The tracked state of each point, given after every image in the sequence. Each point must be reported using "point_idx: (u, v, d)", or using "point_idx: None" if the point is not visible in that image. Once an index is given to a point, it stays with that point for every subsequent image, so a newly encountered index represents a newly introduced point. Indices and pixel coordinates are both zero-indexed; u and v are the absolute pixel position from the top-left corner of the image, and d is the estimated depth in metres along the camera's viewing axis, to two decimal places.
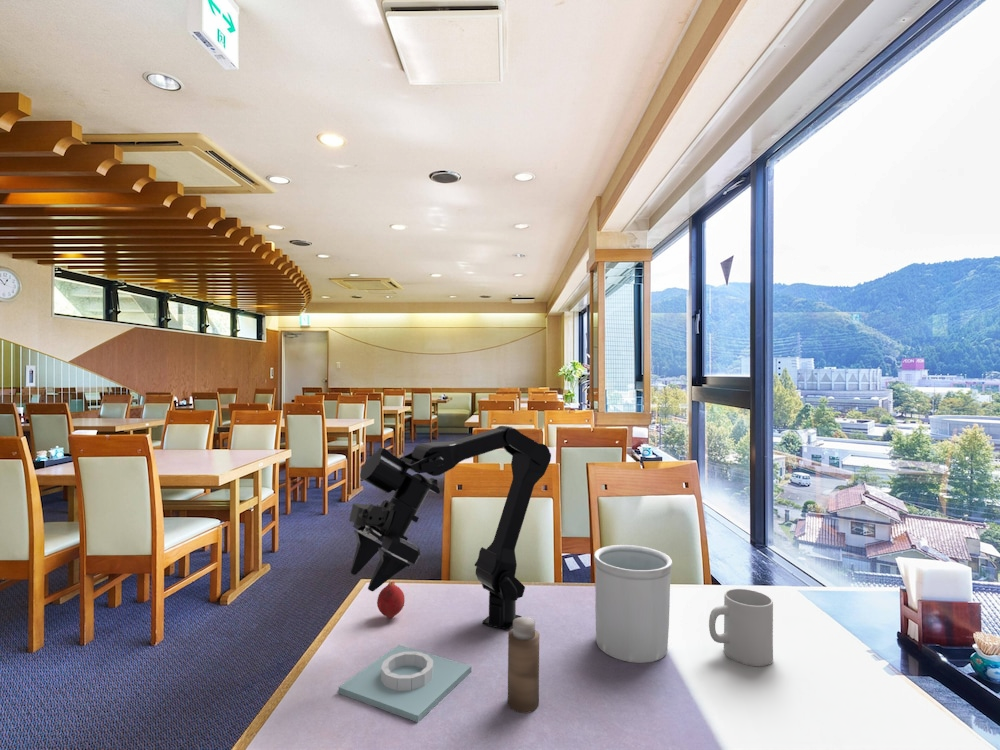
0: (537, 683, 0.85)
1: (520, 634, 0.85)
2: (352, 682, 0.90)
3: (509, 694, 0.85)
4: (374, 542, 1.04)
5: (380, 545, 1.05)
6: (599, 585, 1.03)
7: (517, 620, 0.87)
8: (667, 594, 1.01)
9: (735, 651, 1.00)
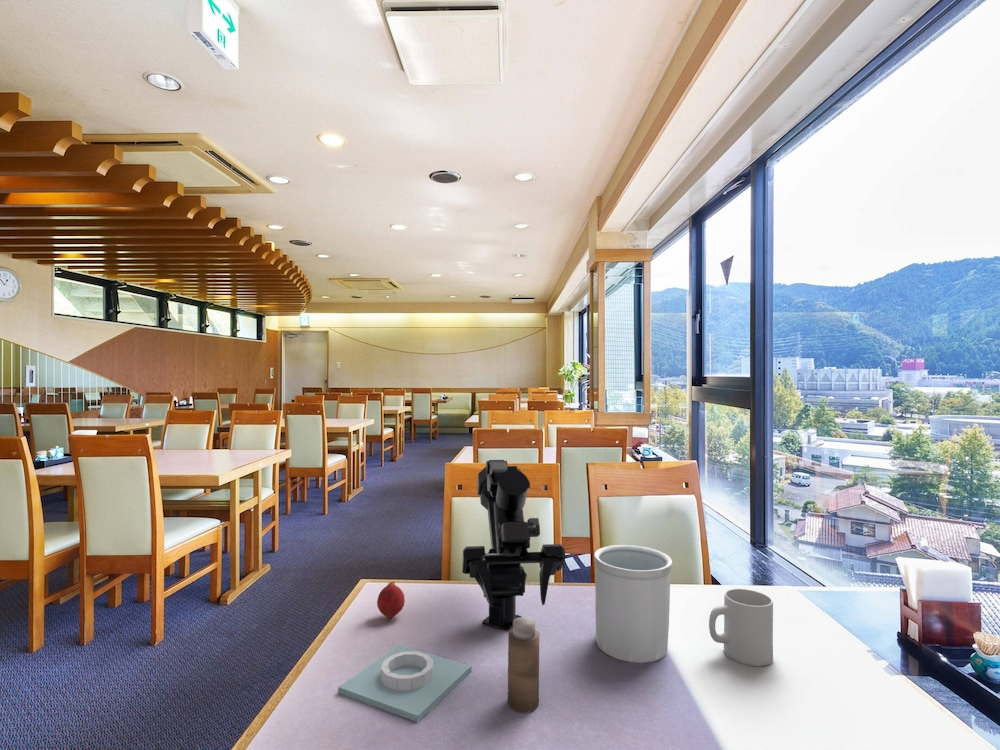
0: (537, 683, 0.85)
1: (520, 634, 0.85)
2: (352, 682, 0.90)
3: (509, 694, 0.85)
4: None
5: None
6: (599, 585, 1.03)
7: (517, 620, 0.87)
8: (667, 594, 1.01)
9: (735, 652, 1.00)
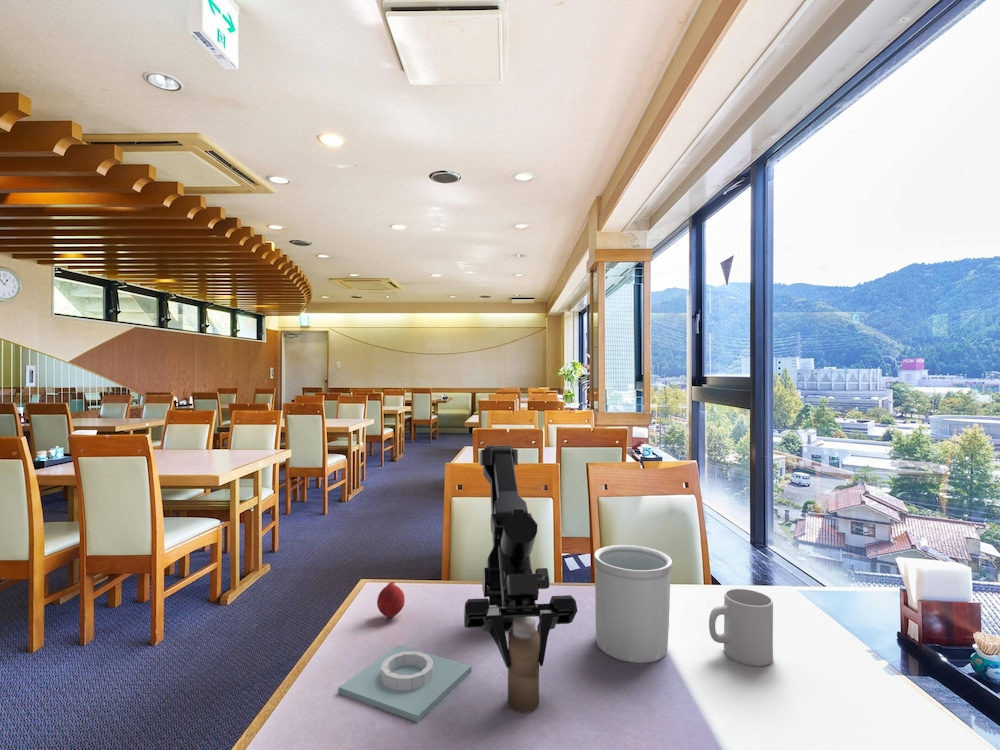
0: (537, 683, 0.85)
1: (520, 634, 0.85)
2: (352, 682, 0.90)
3: (509, 694, 0.85)
4: None
5: None
6: (599, 585, 1.03)
7: (517, 620, 0.87)
8: (667, 594, 1.01)
9: (735, 652, 1.00)
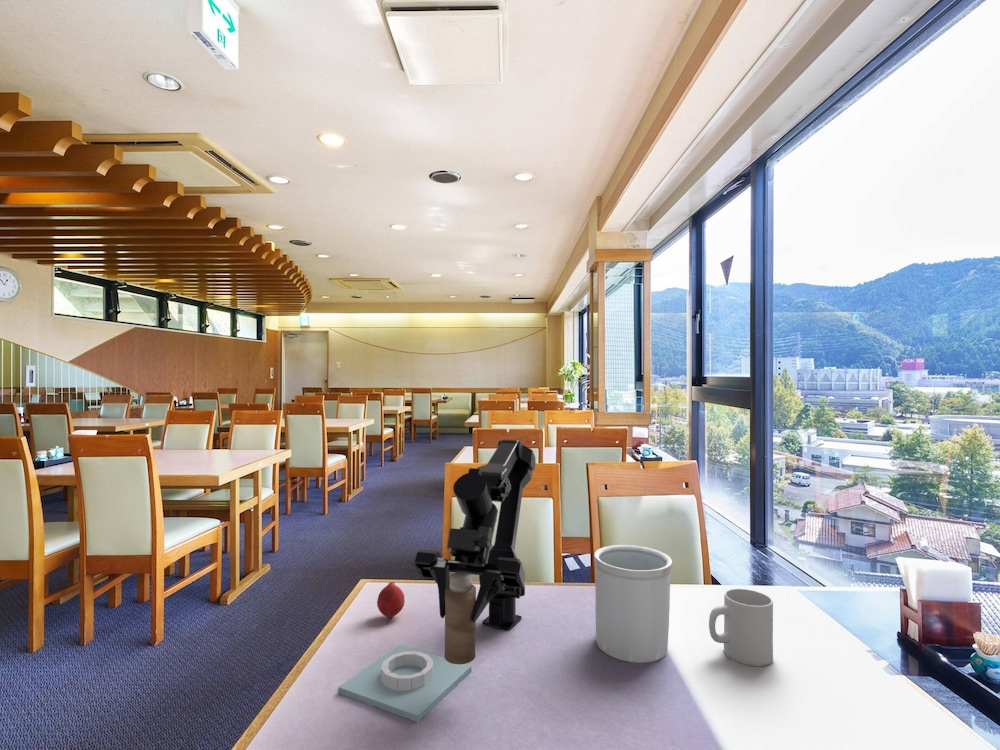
0: (469, 638, 0.86)
1: (452, 587, 0.86)
2: (352, 682, 0.90)
3: None
4: None
5: None
6: (599, 585, 1.03)
7: (456, 574, 0.88)
8: (667, 594, 1.01)
9: (735, 651, 1.00)
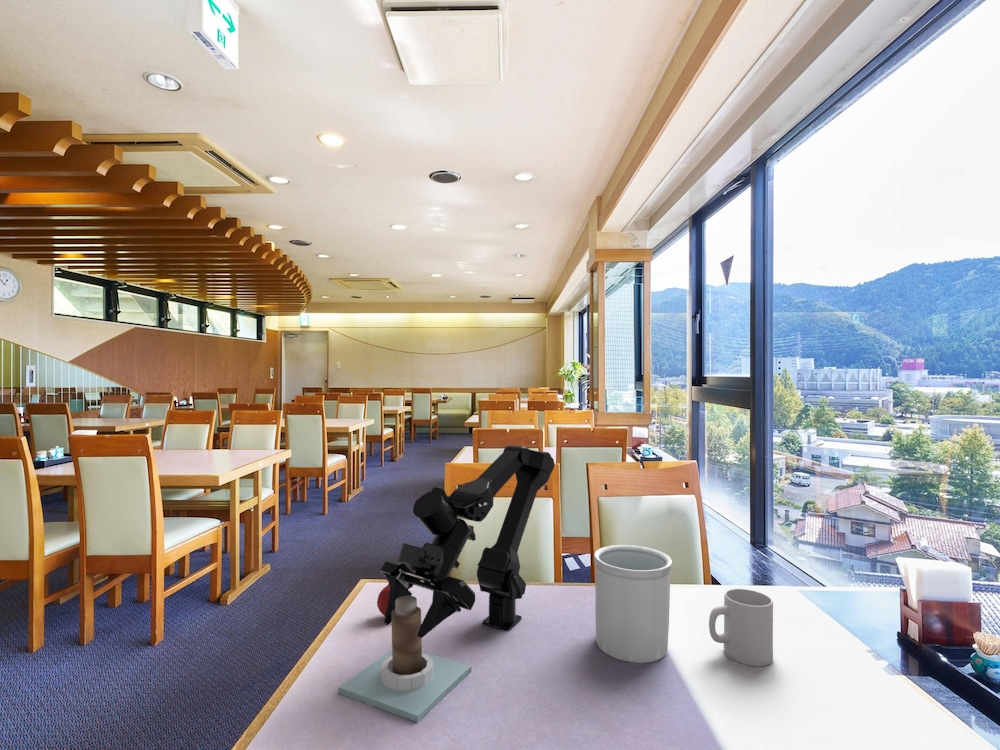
0: (409, 660, 0.90)
1: (395, 609, 0.91)
2: (352, 682, 0.90)
3: None
4: (406, 589, 0.98)
5: (410, 593, 0.99)
6: (599, 585, 1.03)
7: (404, 597, 0.93)
8: (667, 594, 1.01)
9: (735, 652, 1.00)
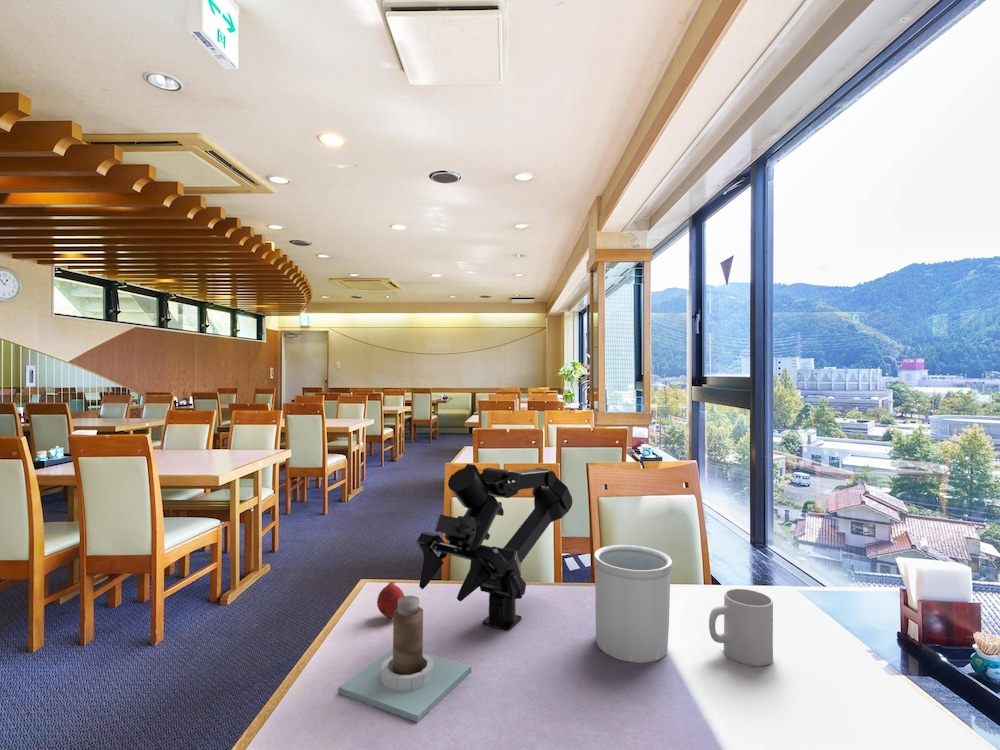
0: (410, 660, 0.90)
1: (398, 609, 0.91)
2: (352, 682, 0.90)
3: None
4: (438, 558, 1.06)
5: (442, 562, 1.07)
6: (599, 585, 1.03)
7: (406, 597, 0.93)
8: (667, 594, 1.01)
9: (735, 652, 1.00)
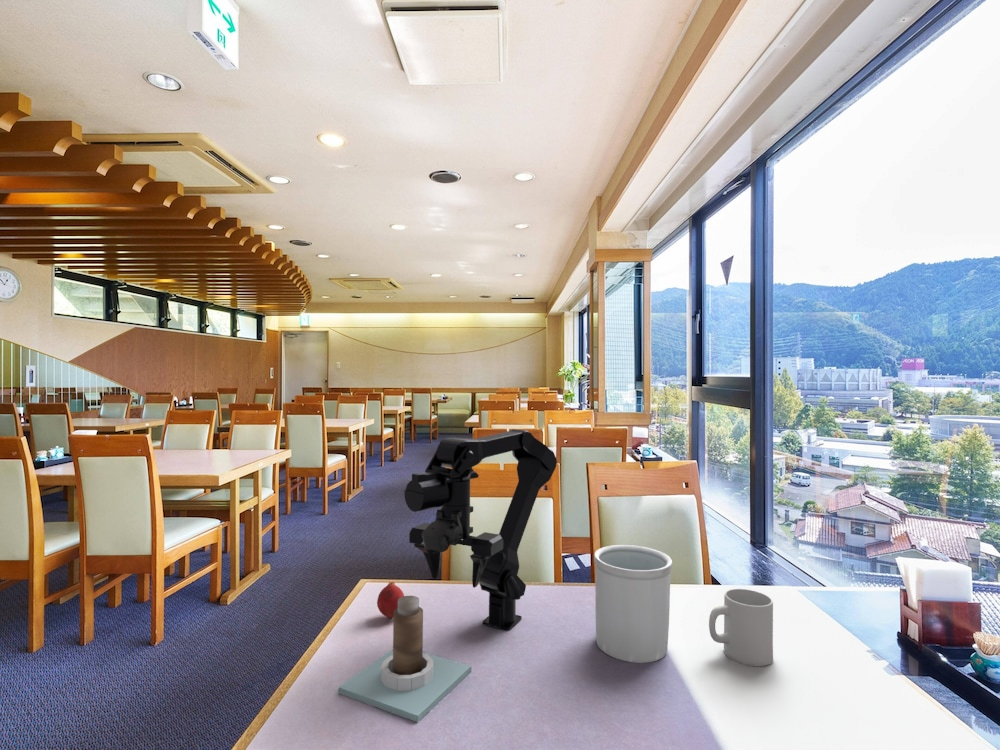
0: (410, 660, 0.90)
1: (398, 609, 0.91)
2: (352, 682, 0.90)
3: None
4: None
5: None
6: (599, 585, 1.03)
7: (406, 597, 0.93)
8: (667, 594, 1.01)
9: (735, 652, 1.00)
